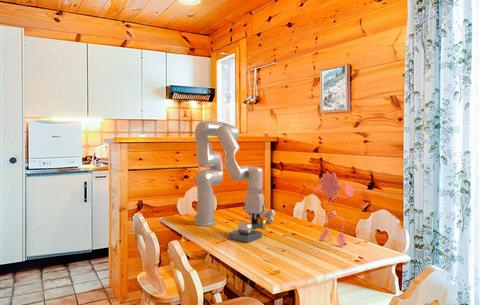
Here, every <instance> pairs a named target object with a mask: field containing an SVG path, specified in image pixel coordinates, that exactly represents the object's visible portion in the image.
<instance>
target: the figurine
mask: <svg viewBox="0 0 480 305" xmlns="http://www.w3.org/2000/svg"><path fill="white" fill-rule="evenodd" d="M331 173H332V174H330V173H329V172H327V171H326V172H325V173H323V174H322V179H321V180H319V185H317V186H316V188H315V189H313V190H314V191H312V194H314V193H316V192H318V190H319V189H321V191H323V196H324V197H325V198H326V197H328V196H329V197H330V198H331V199H329V203H330V208H331V211H330V212H329V213H330V214H327V215H326V216H325V221H326V222H325V223H326V229H324V230H323V231H322V232H321V234H320V237H319V241H323V240H324V239H325V238H326V237H329V238H328V239H329V240H330V241H332V238H331V235H330V229H329V228H328V217H329V216H331V217H333V218H334V217H336V218H338V219H340V220H341V221H343V224H342V229H341V232H340V233H338V235H337V237H336V240H337V243H338V245H339V247H342V246H343V245H346V236H345V234H344V231H343V230H344V227H345V226H344V225H345V220H344V219H343V218H341V217H340V216H337V212H336V211H334V209H333V205H332V202H331V201H333V200H335V198H336V197H341V198H344V199H348V197H349V198H352V197H353V195H354V191H355V190H354V187H353V185H352V184H350V183H347V184H346V185H345V188H344V192H345V193H346V196H344V195H339V191H340V190H341V189H342V185H340V183H339V178H337V174H336V173H335V172H331ZM313 246H315V247H317V248H319V249H321V247H320V246H317V245H315V244H313ZM322 249H323V250H325V248H324V247H322ZM326 250H328V251H330V249H328V248H326ZM334 251H337V252H340V251H341V250H340V249H339V250H338V249H337V250H336V249H334Z"/></svg>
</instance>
